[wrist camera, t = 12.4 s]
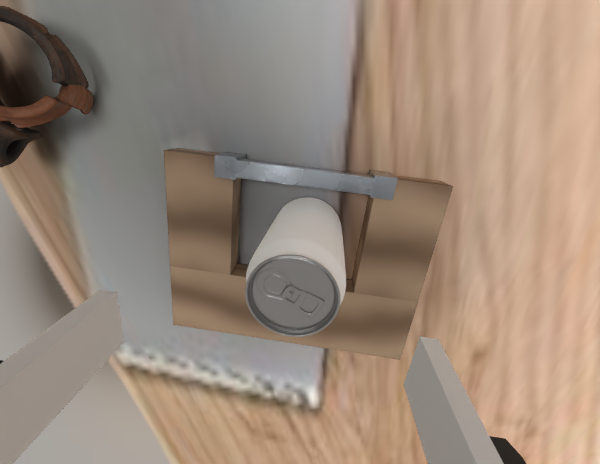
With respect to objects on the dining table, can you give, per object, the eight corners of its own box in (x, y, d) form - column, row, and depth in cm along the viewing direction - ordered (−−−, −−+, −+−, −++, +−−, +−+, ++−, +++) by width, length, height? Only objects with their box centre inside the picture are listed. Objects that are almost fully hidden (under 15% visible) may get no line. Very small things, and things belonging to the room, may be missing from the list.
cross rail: (227, 152, 26) (214, 155, 23) (389, 172, 25) (397, 178, 22) (226, 171, 26) (214, 177, 24) (385, 192, 26) (392, 200, 23)
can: (296, 182, 26) (269, 226, 15) (354, 218, 27) (371, 285, 16) (264, 237, 28) (220, 310, 17) (319, 268, 29) (310, 359, 18)
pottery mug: (-18, 16, 24) (-98, -49, 17) (111, 65, 29) (92, 30, 21) (-36, 155, 26) (-118, 149, 18) (90, 182, 30) (65, 186, 22)
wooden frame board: (178, 148, 26) (163, 150, 24) (441, 181, 25) (453, 186, 23) (184, 310, 32) (173, 324, 30) (394, 342, 31) (400, 359, 29)
